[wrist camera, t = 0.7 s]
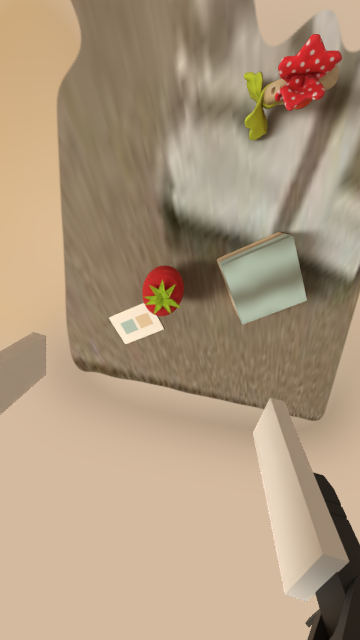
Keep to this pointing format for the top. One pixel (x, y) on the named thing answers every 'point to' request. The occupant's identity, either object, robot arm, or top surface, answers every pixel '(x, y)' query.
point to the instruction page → (136, 323)
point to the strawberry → (163, 290)
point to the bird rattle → (293, 83)
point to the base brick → (263, 277)
